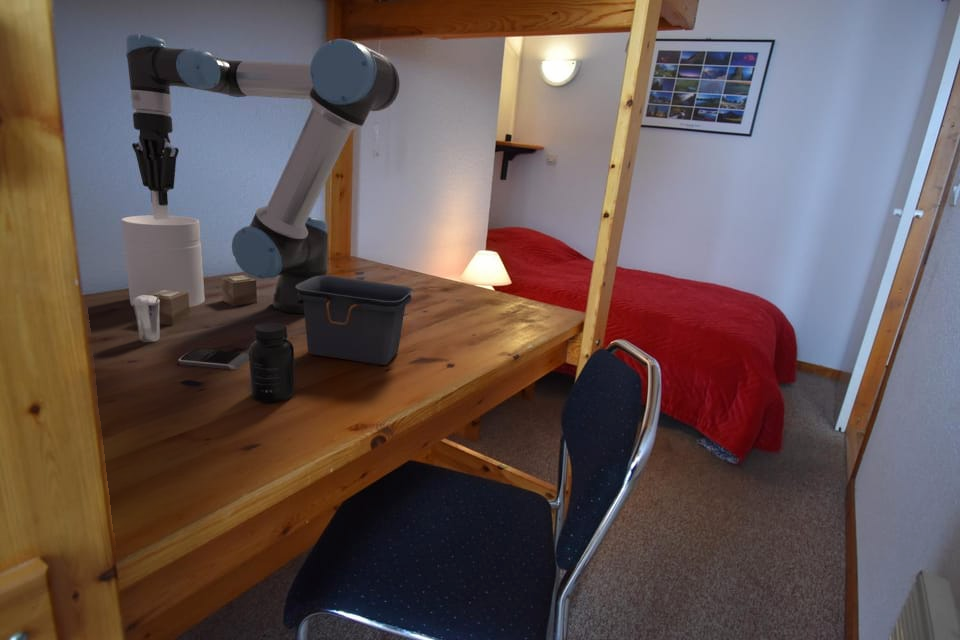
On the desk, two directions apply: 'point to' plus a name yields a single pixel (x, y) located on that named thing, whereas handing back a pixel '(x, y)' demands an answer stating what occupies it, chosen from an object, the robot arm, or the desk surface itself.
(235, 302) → the walnut block right
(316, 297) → the storage bin
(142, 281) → the canister
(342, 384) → the desk surface
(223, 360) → the cell phone
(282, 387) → the supplement bottle
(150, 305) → the milkshake
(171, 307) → the walnut block left
